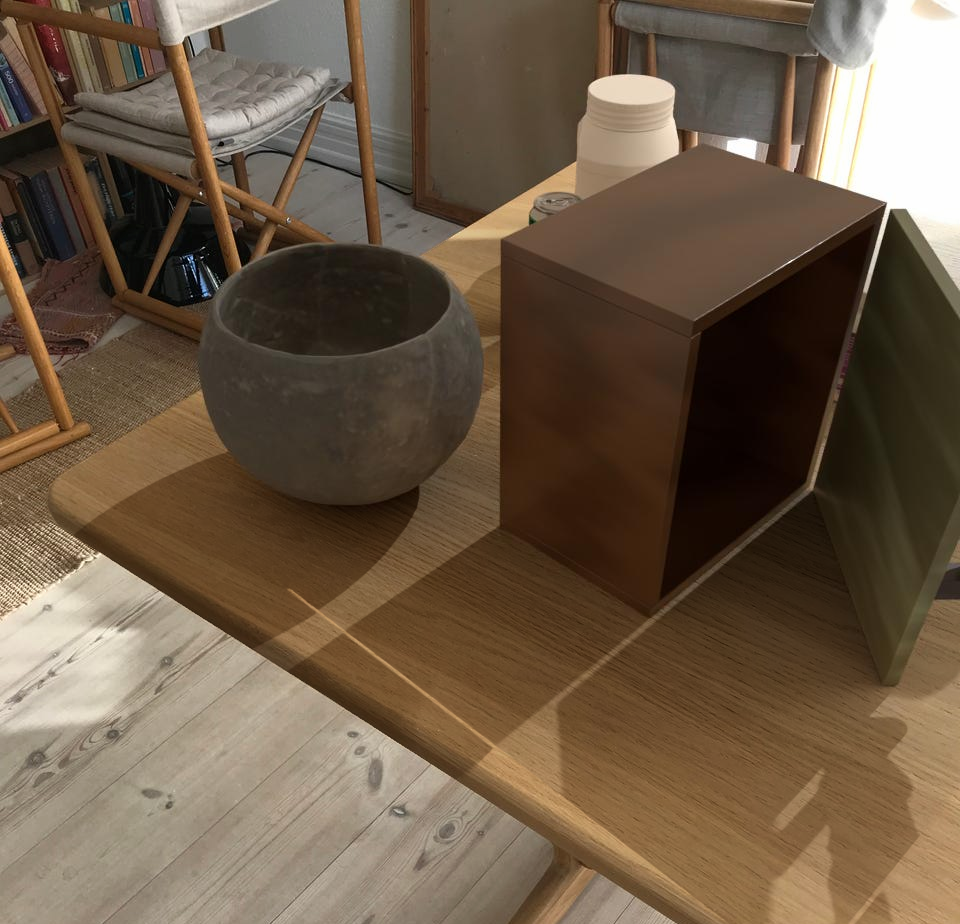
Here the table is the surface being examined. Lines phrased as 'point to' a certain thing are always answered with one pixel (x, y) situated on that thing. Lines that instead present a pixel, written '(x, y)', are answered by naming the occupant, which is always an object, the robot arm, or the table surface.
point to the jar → (624, 131)
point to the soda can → (551, 204)
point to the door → (898, 448)
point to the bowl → (340, 370)
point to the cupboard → (673, 364)
